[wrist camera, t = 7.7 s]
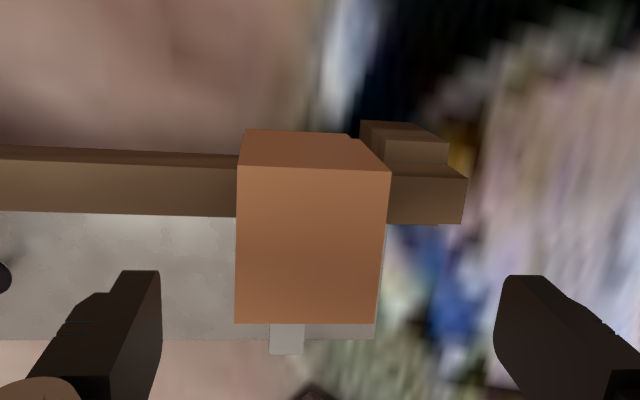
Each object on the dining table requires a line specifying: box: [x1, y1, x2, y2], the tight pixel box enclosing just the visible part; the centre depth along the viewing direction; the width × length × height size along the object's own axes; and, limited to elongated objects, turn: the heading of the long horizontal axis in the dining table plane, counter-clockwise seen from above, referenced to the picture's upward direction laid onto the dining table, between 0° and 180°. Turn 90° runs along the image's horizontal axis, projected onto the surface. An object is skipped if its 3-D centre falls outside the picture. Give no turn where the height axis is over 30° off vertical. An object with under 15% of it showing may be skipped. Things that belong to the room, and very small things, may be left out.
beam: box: [0, 120, 468, 226], centre depth 23 cm, size 4×28×8 cm, turn 86°
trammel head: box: [234, 129, 392, 355], centre depth 21 cm, size 11×4×12 cm, turn 176°
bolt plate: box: [0, 211, 388, 340], centre depth 29 cm, size 8×26×1 cm, turn 86°
